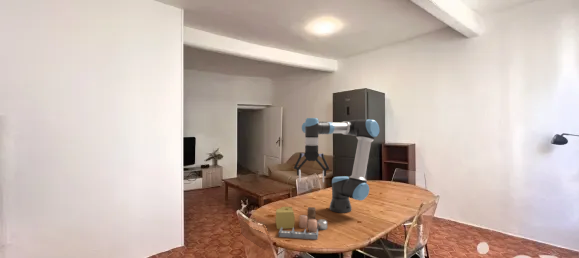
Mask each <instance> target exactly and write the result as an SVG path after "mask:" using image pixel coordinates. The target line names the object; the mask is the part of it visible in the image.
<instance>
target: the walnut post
mask: <svg viewBox="0 0 579 258" xmlns="http://www.w3.org/2000/svg"><path fill="white" fill-rule="evenodd" d="M307 216H308V220H309V219H316V207H311V206H309V207H307Z"/></svg>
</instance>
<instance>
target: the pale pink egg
mask: <svg viewBox="0 0 579 258" xmlns="http://www.w3.org/2000/svg"><path fill="white" fill-rule="evenodd" d="M307 232H312V233H316V232H317V219H316V218H315V219H309V220H308V227H307Z"/></svg>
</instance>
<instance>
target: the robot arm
mask: <svg viewBox="0 0 579 258" xmlns="http://www.w3.org/2000/svg"><path fill="white" fill-rule="evenodd" d="M301 131H302V132H303V133H304V143H305V145H304V147H305V148H304V152H299V157H298V159H297V161H296V162H295V165H294V166H293V169H294V170H296V176H297V177H298V182H299V183H300V182H301V180H302V179H301V176H302V173H301V171H302V170H301V168H302V167H303V165H304V164H305V163H306V162H307V161H308V162H316V163H317V164H318V165H319V166H320V168H321V169H322V183H325V177H326V176H327V171H329V170H330V166H329V163H328V162H327V160H326V159H325V156H324V155H325V154H324V153H323V152H322V153H319V135H331V134H342V135H347V136H352V137H354V136H355V137H356V139H357V146H356V151H355V156H354V161H353V167H352V172H351V175H350V176H347V175H346V176H345V175H344V176H343V175H342V176H334V177H333V178H332V179H331V194H332V195H331V201H330V204H329V210H330V211H331V212H334V213H338V214H339V213H340V214H345V213H347V214H348V213H350V212H352V204H351V201H350V199H353V200H355V201H364V200H365V199H366V198H367V197H368V196H369V193H370V185H369V183H367V182H368V180H367V179H366V175H367V174H366V173H367V170H368V169H367V167H368V164H369V156H370V151H371V145H372V142H374V141H375V138H376V137H378V136H379V133H380V125H379V123H378V122H377V121H376V120H375V119H369V118H368V119H367V118H366V119H352V120H344V121H341V122H338V121H337V122H336V121H335V122H333V121H319V118H318V117H307V118H306V119H305V121H304V122H303V123H302V125H301ZM303 157H305V159H304V160H303V161H302V162H301V159H302V158H303ZM319 157H320V158H321V160H322V162H323V163H322V162H321V160H319ZM300 162H301V163H300ZM299 163H300V165H299ZM324 165H325V166H324Z"/></svg>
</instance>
